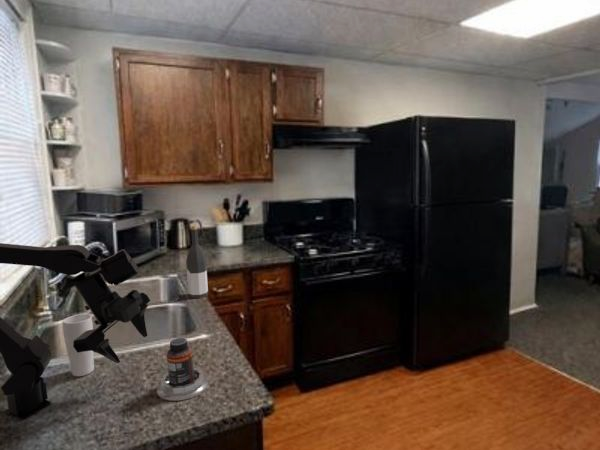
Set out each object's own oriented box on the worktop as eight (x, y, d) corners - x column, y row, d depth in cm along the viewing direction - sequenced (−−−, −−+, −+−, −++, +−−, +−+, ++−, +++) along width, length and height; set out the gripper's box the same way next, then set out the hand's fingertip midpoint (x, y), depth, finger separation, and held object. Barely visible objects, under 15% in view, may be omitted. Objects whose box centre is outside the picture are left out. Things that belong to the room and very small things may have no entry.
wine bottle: (209, 296, 163) (205, 226, 159) (189, 299, 160) (184, 227, 156) (206, 291, 170) (202, 223, 166) (187, 294, 167) (182, 225, 163)
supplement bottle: (187, 375, 99) (184, 333, 97) (199, 384, 95) (196, 340, 93) (165, 384, 95) (161, 341, 94) (175, 394, 91) (172, 349, 89)
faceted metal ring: (186, 405, 87) (185, 395, 87) (146, 394, 92) (145, 385, 92) (217, 379, 98) (217, 369, 98) (180, 370, 103) (179, 361, 102)
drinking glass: (91, 363, 108) (85, 311, 106) (102, 370, 104) (96, 317, 102) (64, 373, 103) (57, 319, 101) (74, 381, 99) (68, 325, 96)
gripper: (84, 314, 78) (125, 375, 82) (148, 267, 93) (179, 320, 97) (54, 322, 83) (94, 378, 87) (119, 276, 99) (150, 326, 103)
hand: (132, 349), depth 93 cm, fingers open, 9 cm apart
